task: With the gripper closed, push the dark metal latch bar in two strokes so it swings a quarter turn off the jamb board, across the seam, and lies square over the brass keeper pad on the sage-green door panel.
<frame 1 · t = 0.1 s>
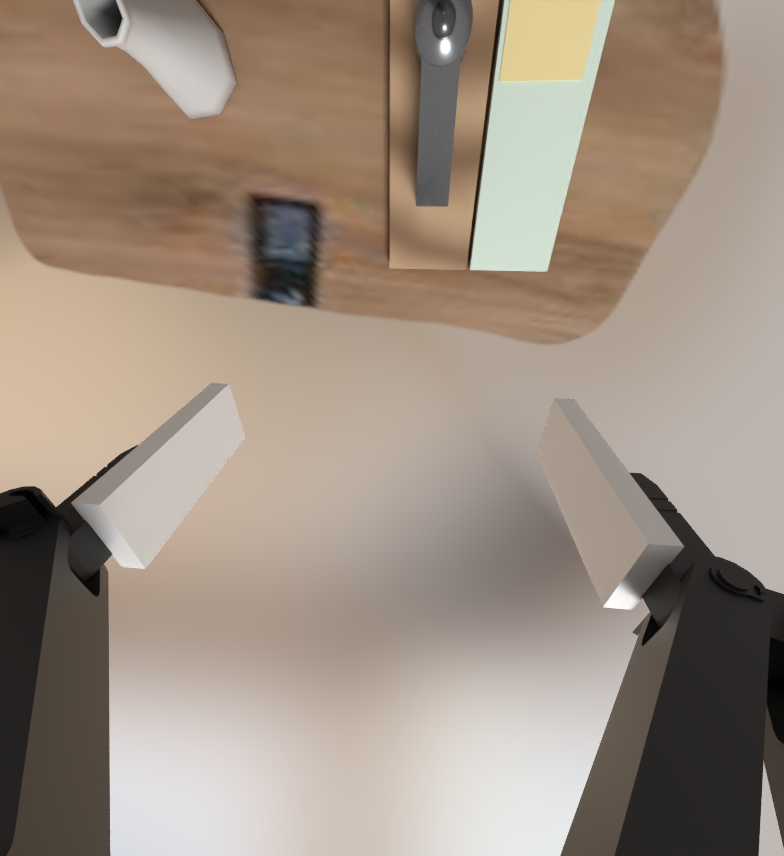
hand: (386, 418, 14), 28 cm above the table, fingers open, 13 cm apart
door panel: (528, 145, 29), on the table
latch bar: (437, 111, 26), point 3 cm above the table, hinge at 0.0°
jamb board: (434, 145, 30), on the table
flask: (194, 63, 28), on the table
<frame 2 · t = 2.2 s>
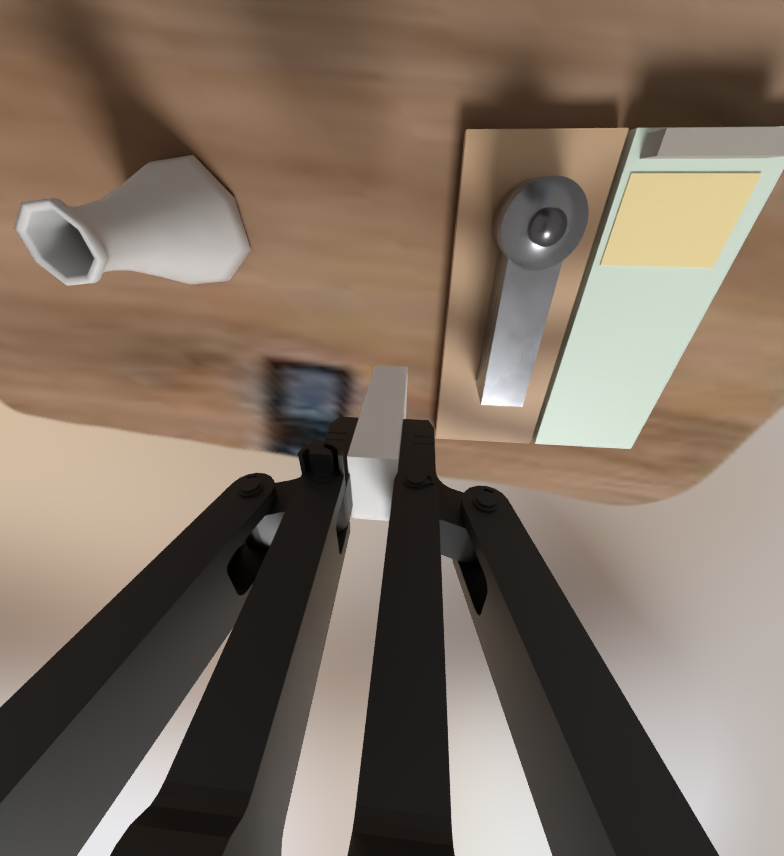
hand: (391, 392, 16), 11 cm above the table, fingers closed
door panel: (624, 323, 23), on the table
latch bar: (519, 307, 20), point 3 cm above the table, hinge at 0.0°
jamb board: (502, 319, 24), on the table
flask: (196, 225, 22), on the table
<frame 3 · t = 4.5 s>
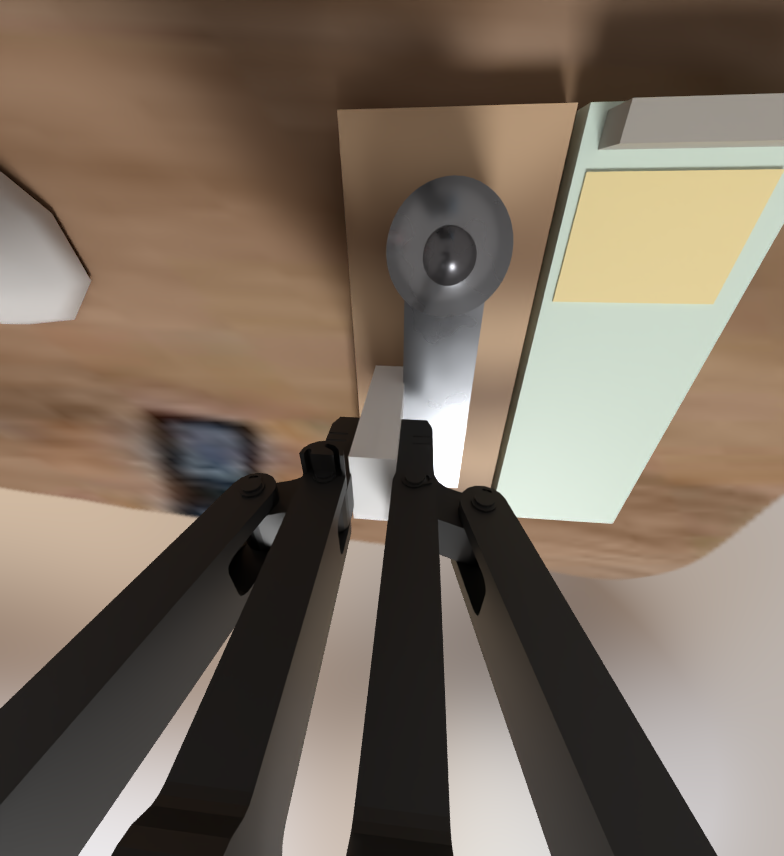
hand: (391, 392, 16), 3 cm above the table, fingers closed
door panel: (595, 372, 17), on the table
latch bar: (437, 362, 14), point 3 cm above the table, hinge at 0.0°, touching gripper
jamb board: (434, 367, 18), on the table
flask: (18, 249, 16), on the table
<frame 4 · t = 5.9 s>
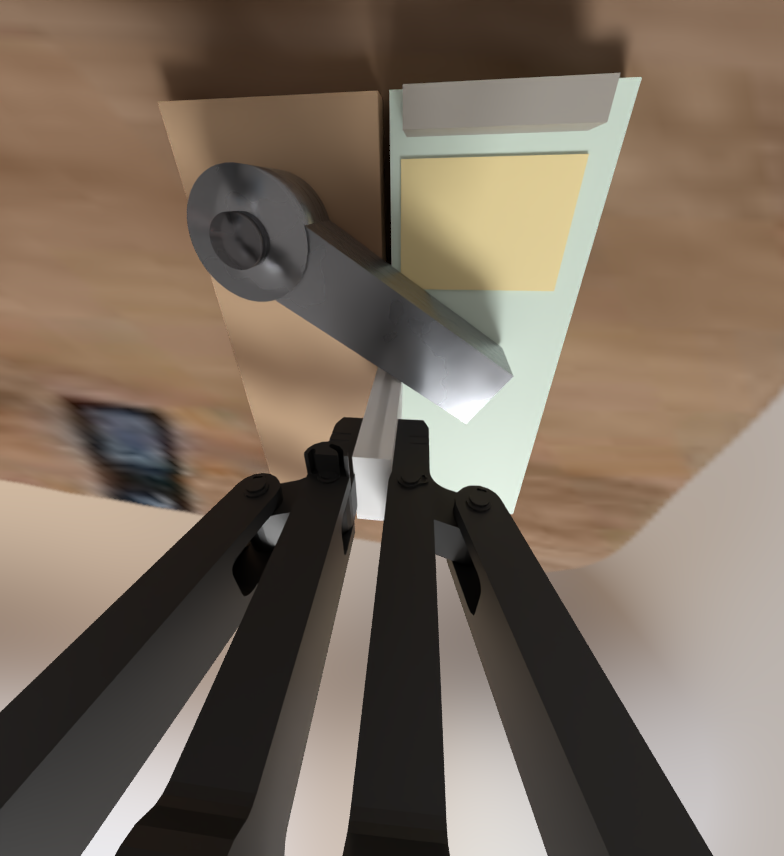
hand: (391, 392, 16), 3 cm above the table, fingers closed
door panel: (469, 361, 17), on the table
latch bar: (363, 305, 13), point 3 cm above the table, hinge at 56.4°, touching gripper
jamb board: (315, 355, 18), on the table
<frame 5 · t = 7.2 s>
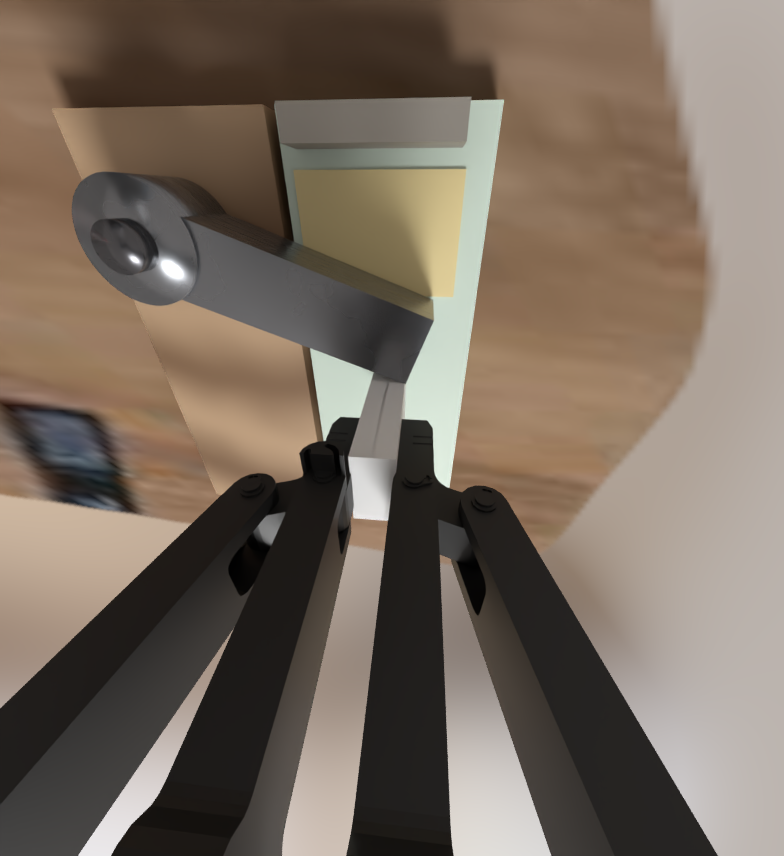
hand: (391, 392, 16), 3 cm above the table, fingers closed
door panel: (390, 363, 18), on the table
latch bar: (270, 286, 13), point 3 cm above the table, hinge at 69.8°, touching gripper
jamb board: (242, 357, 18), on the table
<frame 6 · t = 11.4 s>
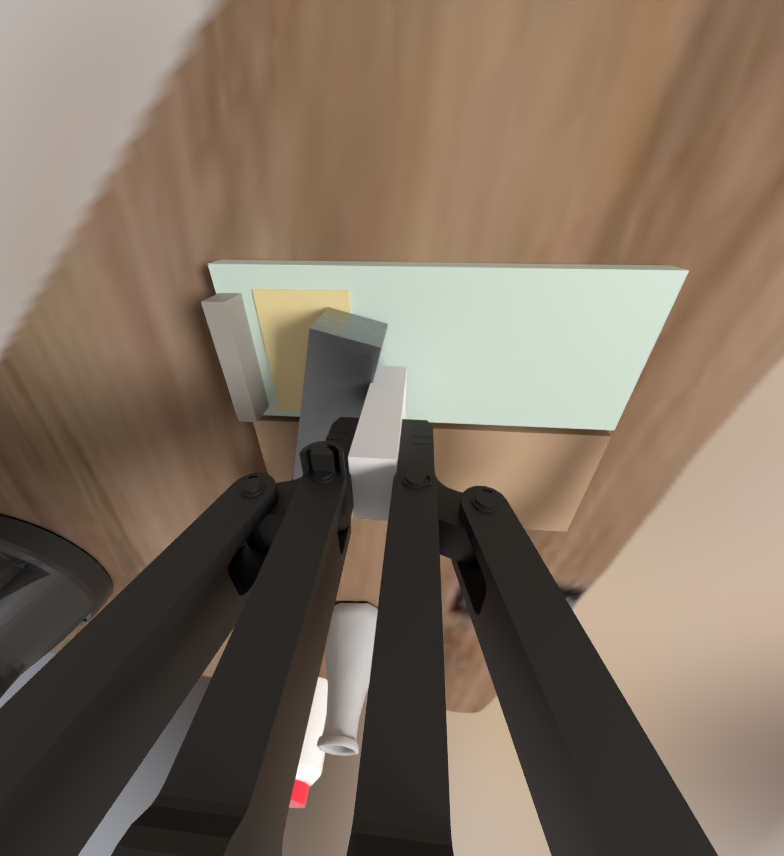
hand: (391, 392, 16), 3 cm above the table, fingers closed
pill bottle: (309, 682, 46), on the table
door panel: (430, 346, 17), on the table
latch bar: (329, 446, 17), point 3 cm above the table, hinge at 75.8°, touching gripper
jamb board: (422, 467, 22), on the table
flask: (358, 615, 34), on the table
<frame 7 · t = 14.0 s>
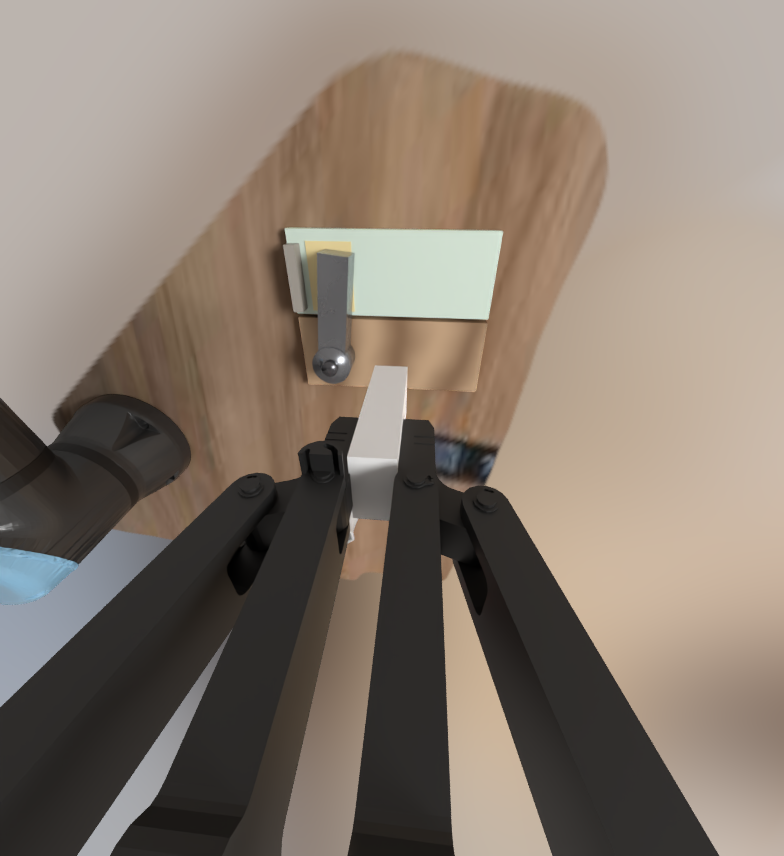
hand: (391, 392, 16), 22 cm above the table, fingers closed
door panel: (392, 273, 33), on the table
latch bar: (334, 322, 33), point 3 cm above the table, hinge at 83.8°
jamb board: (391, 352, 38), on the table
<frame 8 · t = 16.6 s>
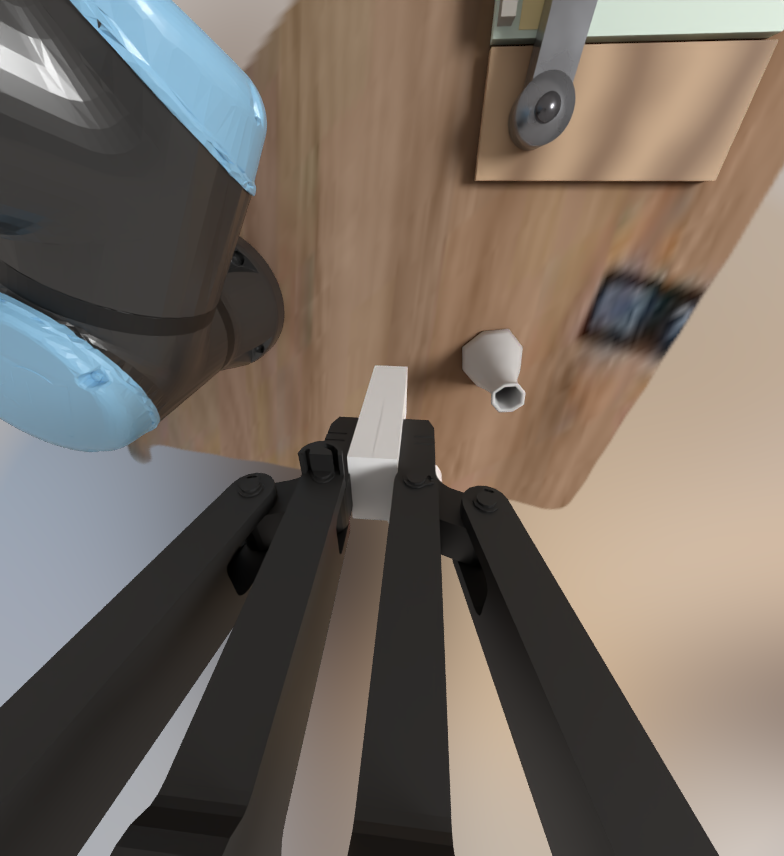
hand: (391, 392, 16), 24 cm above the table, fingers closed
latch bar: (564, 27, 22), point 3 cm above the table, hinge at 83.8°
jamb board: (603, 120, 27), on the table
flask: (491, 357, 40), on the table
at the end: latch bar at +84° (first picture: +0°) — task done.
